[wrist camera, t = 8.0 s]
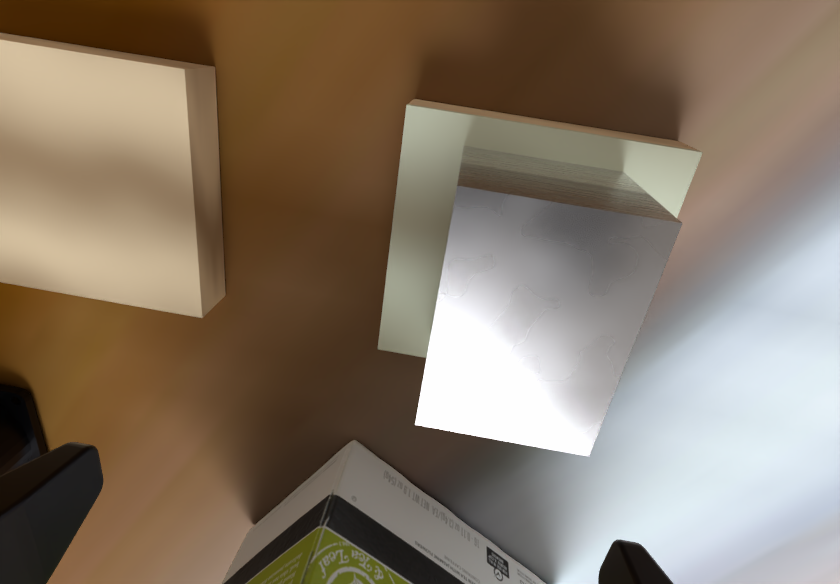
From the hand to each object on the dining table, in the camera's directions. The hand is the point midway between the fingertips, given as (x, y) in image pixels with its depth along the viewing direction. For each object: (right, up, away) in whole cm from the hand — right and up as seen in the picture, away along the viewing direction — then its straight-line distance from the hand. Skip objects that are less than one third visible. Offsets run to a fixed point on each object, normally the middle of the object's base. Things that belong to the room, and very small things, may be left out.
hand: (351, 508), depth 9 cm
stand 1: (-11, +8, +11) cm, 17 cm away
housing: (+5, +5, +8) cm, 11 cm away
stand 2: (+5, +6, +10) cm, 13 cm away
